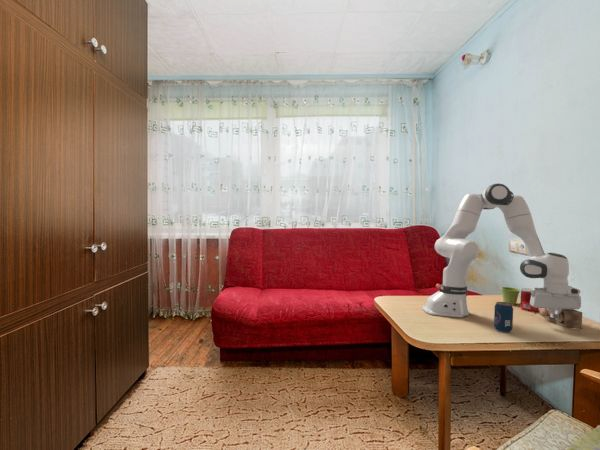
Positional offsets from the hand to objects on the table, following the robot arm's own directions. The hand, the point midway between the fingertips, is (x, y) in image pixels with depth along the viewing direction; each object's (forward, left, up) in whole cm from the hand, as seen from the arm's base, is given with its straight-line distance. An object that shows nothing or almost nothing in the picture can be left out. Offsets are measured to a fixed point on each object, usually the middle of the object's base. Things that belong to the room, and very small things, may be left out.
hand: (554, 317), depth 145 cm
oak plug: (+6, 0, -2) cm, 6 cm away
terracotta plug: (+4, +7, -2) cm, 8 cm away
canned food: (+3, +24, -4) cm, 24 cm away
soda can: (-28, -9, -4) cm, 29 cm away
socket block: (+6, +4, -4) cm, 8 cm away
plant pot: (-1, +35, -4) cm, 35 cm away
